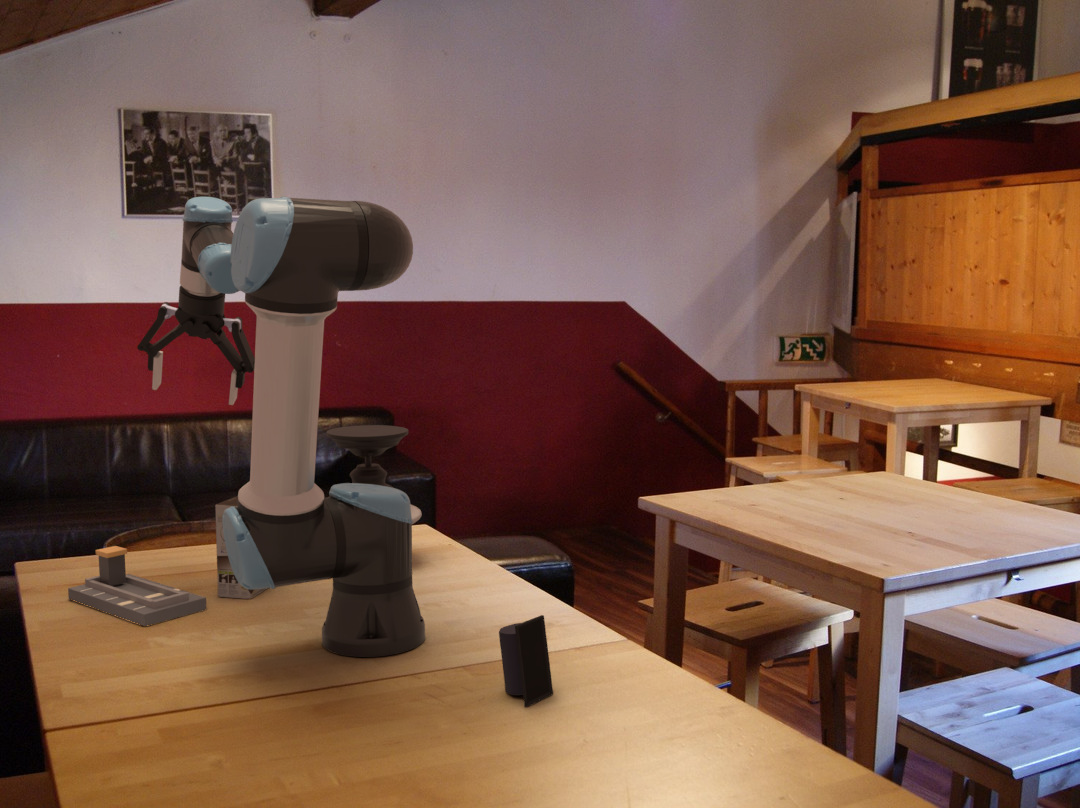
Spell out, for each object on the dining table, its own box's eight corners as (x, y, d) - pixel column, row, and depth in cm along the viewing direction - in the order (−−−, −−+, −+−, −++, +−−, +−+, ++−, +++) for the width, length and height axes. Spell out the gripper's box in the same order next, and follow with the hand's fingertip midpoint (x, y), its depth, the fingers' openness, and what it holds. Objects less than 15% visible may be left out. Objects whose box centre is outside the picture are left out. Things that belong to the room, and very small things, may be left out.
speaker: (565, 696, 133) (557, 616, 133) (525, 708, 130) (517, 626, 130) (535, 682, 140) (528, 606, 139) (497, 693, 137) (489, 615, 136)
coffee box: (252, 599, 175) (248, 505, 173) (216, 597, 176) (213, 503, 174) (276, 584, 184) (273, 494, 182) (242, 582, 185) (239, 493, 183)
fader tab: (128, 582, 177) (127, 549, 176) (108, 587, 174) (107, 553, 173) (117, 578, 179) (115, 545, 178) (97, 583, 176) (95, 550, 175)
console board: (206, 609, 170) (205, 590, 169) (144, 627, 161) (144, 606, 161) (129, 584, 184) (128, 567, 183) (68, 599, 175) (67, 581, 175)
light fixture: (314, 554, 204) (310, 425, 201) (413, 547, 209) (411, 421, 206) (322, 582, 185) (318, 440, 182) (430, 573, 190) (428, 435, 188)
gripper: (281, 293, 182) (269, 397, 192) (136, 263, 180) (132, 370, 190) (270, 311, 176) (259, 417, 186) (120, 280, 173) (117, 389, 183)
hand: (194, 394), depth 188 cm, fingers open, 13 cm apart
